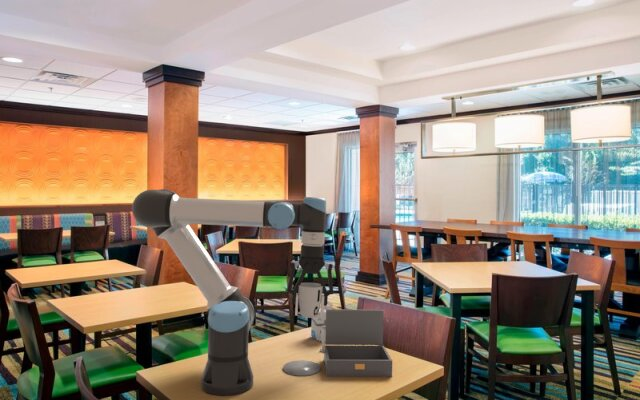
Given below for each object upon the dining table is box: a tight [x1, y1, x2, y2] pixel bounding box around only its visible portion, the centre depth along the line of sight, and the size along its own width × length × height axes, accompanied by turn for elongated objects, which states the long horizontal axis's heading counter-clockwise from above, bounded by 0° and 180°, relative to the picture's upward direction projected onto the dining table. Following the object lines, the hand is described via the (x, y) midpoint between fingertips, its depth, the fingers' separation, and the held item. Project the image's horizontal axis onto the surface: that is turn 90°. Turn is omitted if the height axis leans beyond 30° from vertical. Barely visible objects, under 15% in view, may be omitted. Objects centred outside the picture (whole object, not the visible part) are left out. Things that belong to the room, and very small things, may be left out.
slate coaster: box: [282, 359, 321, 377], centre depth 152 cm, size 12×12×1 cm
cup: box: [297, 282, 323, 319], centre depth 152 cm, size 8×8×10 cm
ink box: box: [310, 300, 333, 343], centre depth 185 cm, size 9×5×15 cm, turn 30°
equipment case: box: [321, 308, 393, 378], centre depth 154 cm, size 22×16×17 cm
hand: (309, 314), depth 153 cm, fingers closed on cup, 8 cm apart
